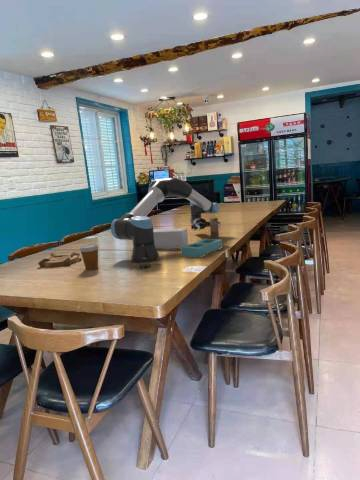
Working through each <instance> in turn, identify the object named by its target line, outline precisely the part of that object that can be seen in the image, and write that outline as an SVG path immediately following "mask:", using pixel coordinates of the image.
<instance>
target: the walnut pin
mask: <svg viewBox="0 0 360 480" xmlns="http://www.w3.org/2000/svg"><path fill="white" fill-rule="evenodd" d="M218 220H219V218H218V217H210V218H209V222H210V227H209V228H210V229H209V230H210V239H218V240H220V235H219V234H220V233H219V228H218V222H219V221H218Z"/></svg>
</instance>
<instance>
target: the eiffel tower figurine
mask: <svg viewBox="0 0 360 480" xmlns="http://www.w3.org/2000/svg"><path fill="white" fill-rule="evenodd" d="M143 246H144V245H143V242H142V251H143V257H142V262H140V264H139V265H136V266H134V267H133V268H130V269H129V271H131V270H133V269H134V268H138V269H140V270H143V271H144V270H147V269H151V268H153V266H162V263H154V264H150V262H148V261H147V259H146V257H145V252H144V247H143Z"/></svg>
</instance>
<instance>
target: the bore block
mask: <svg viewBox="0 0 360 480" xmlns="http://www.w3.org/2000/svg"><path fill="white" fill-rule="evenodd" d="M221 247H223V239H219V240H218V239H211V238H203V239H201V240H198V241H195V242H192V243H188V245H186V246H183V247H181V248H180V252H181V254H180V255H181V257H185V256H188V257H187V258H196V257H200V258H202V257H201V256H203V255H205V256H207V255H209V254H208V253H210V252H212V251H215V250H217V249H219V248H221ZM219 250H220V249H219ZM217 251H218V250H217ZM215 252H216V251H215ZM212 253H213V252H212ZM206 254H207V255H206ZM210 254H211V253H210ZM203 257H204V256H203Z"/></svg>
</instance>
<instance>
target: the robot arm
mask: <svg viewBox="0 0 360 480" xmlns="http://www.w3.org/2000/svg"><path fill="white" fill-rule="evenodd" d="M167 197H168V198H169V197H170V198H171V197H179V198H181V199H186V200H188V201H189V205H190V206H189V207H190V208H189V209H190V218H189V219H190V220H189V222H190V224H191V226H190V227H191V228H190V229H191V230H194V231H201V230H204V229H206V228H210V221H207V220H206V219H205V218H203V217H202V214H217V213H219V210H220V205H219V203H218V202H212V201H210V200H209V199H208V198H206V197H205V196H204V195H202V194H200V193H199V192H198V191H196V190H195V189H193V187H192V185H190V183H188V182H186V181H184V180H183V179H180V178H177V177H166V178H156V179H152V180H151V182H149V185H148V191H147V194H146V195H145V196H143V198H142V199H141V200H140V201H139V202H138V203H137V204H136V206H135V207H133V208H132V209H131V211H130V212H126V213H124V214H123V215H122V216H121V217H120V218H115V219H114V220H113V219H112V222H111V225H110V233H111V235H112V236H113V238H115V239H116V240H120V241H123V240H125V241H132V253H131V256H130V257H131V259H130V260H131V262H133V263H141V262H142V257H143V251H142V242H143V245H144V246H143V247H144V252H145V257H146V259H147V261H148V263H150V262H154V261H156V260H158V259H160V255H159V252H158V248H156V247H155V244H154V232H153V229H154V224H153V219H152V218H151V217H149V216H148V214H150V212H151V211H153V209H154V208H155V207H156V205H158V203H162V202H164V200H165V199H166V198H167ZM220 228H221V222H220V221H218V229H220Z"/></svg>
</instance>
